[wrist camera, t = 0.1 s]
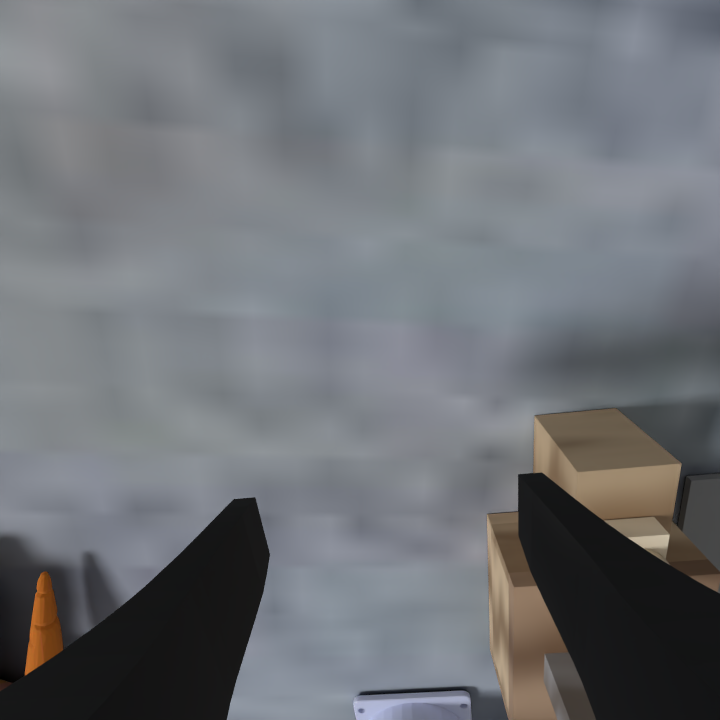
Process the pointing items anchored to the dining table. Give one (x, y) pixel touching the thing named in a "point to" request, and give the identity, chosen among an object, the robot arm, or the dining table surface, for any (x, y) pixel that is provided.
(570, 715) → the lid
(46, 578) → the toy
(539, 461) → the open wooden box
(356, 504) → the dining table surface
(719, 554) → the mat
